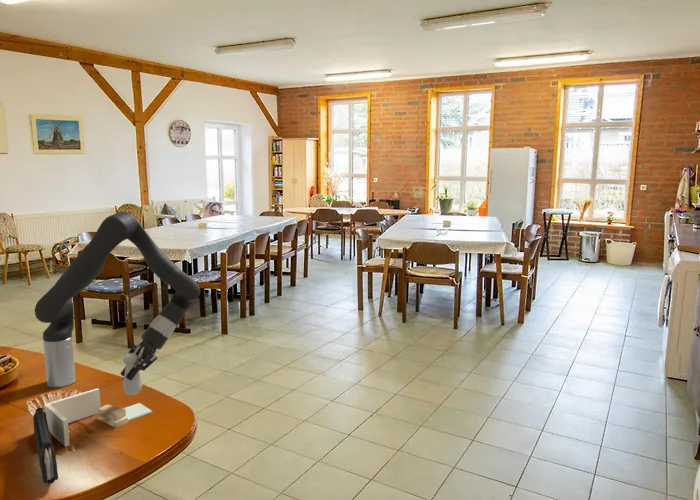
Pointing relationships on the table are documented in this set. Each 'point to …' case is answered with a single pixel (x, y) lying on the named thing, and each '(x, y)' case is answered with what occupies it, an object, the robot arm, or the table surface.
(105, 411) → the offcut short
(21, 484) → the table surface
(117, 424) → the block
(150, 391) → the table surface
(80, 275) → the robot arm
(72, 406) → the bracket
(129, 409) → the tile
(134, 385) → the salt shaker
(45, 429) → the magazine
